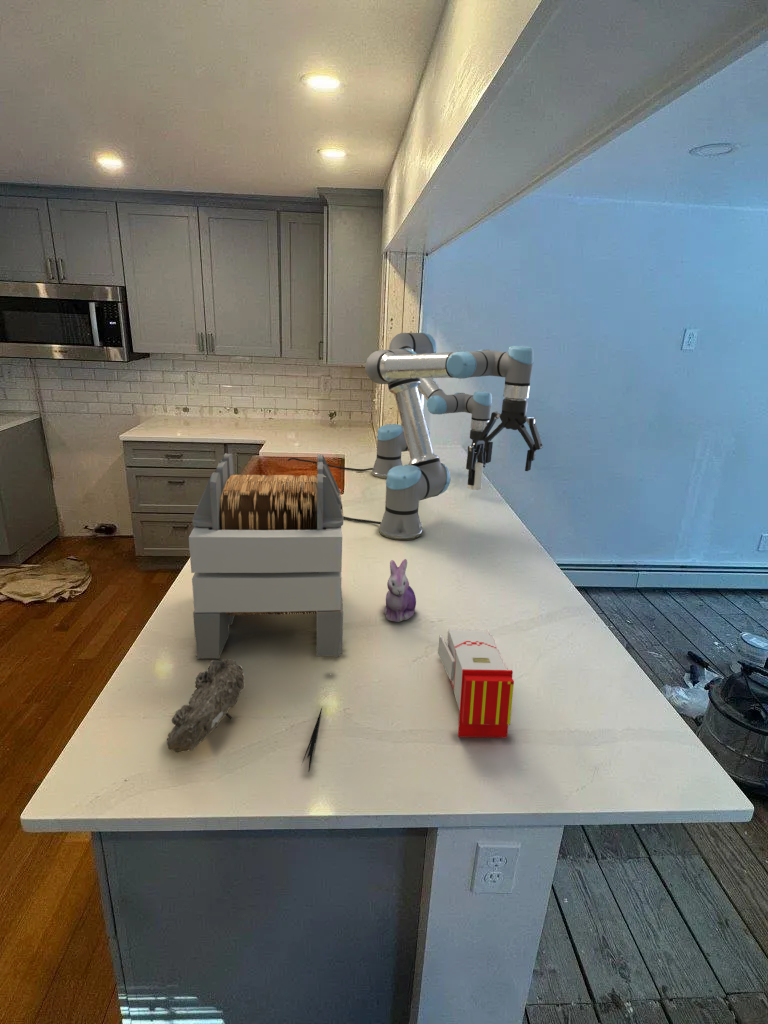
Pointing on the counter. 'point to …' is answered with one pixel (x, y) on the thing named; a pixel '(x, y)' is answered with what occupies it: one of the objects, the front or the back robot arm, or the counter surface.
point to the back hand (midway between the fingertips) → (474, 483)
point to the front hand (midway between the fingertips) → (507, 466)
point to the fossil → (206, 705)
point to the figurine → (399, 594)
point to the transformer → (267, 553)
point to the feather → (313, 740)
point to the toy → (478, 682)
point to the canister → (477, 477)
